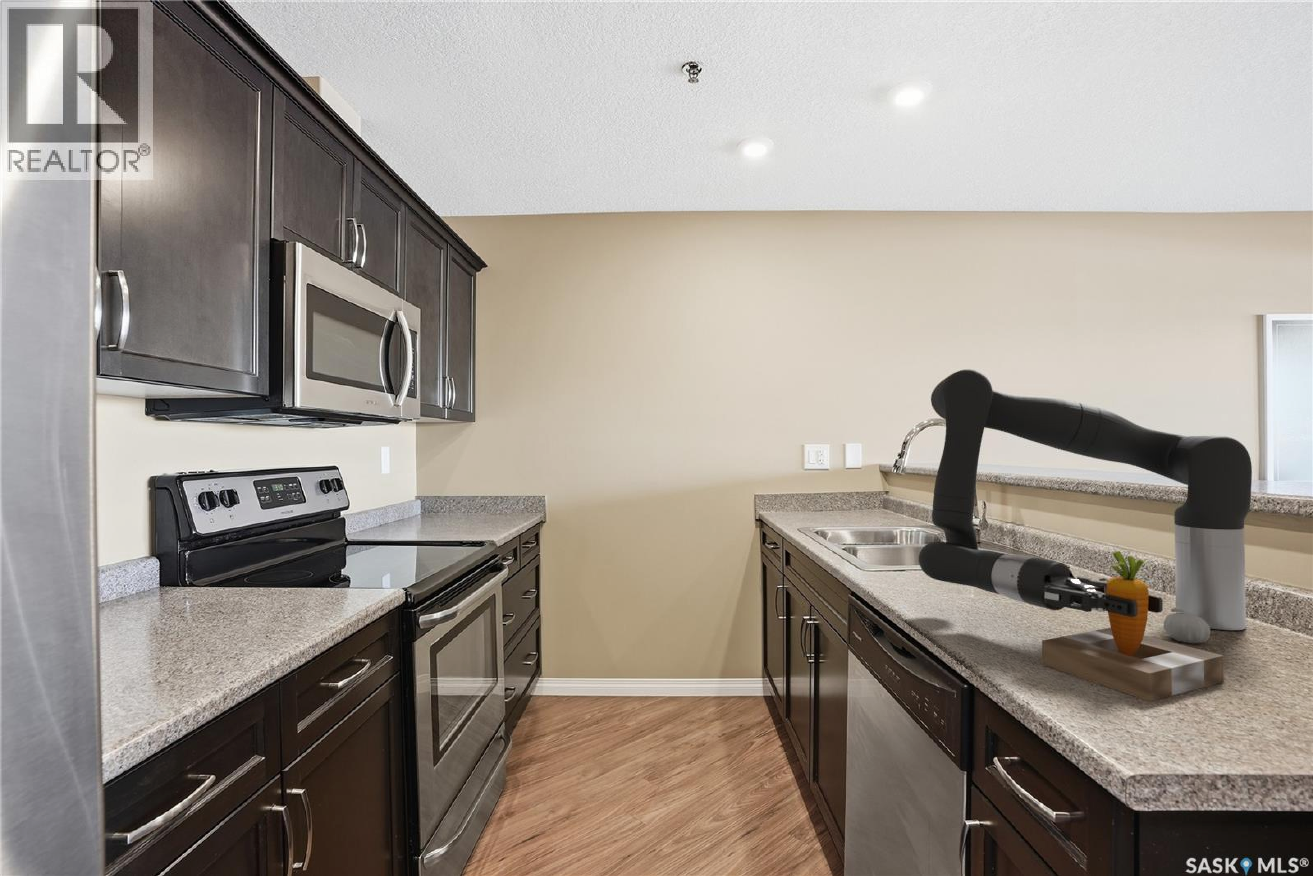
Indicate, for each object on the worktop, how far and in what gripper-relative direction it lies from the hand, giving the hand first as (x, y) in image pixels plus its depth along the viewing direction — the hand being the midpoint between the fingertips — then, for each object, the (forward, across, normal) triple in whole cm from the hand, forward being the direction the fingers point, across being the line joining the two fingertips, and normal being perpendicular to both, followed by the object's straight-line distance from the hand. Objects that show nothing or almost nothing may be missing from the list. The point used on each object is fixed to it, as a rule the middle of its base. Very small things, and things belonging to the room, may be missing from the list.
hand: (1148, 607), depth 84 cm
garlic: (-7, +23, +10) cm, 26 cm away
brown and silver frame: (-2, 0, +10) cm, 10 cm away
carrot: (-3, 0, +8) cm, 9 cm away
